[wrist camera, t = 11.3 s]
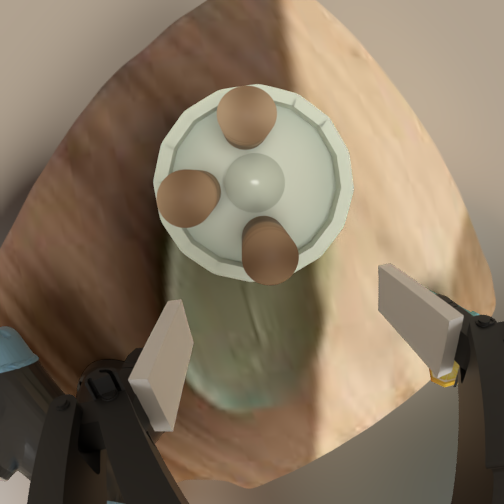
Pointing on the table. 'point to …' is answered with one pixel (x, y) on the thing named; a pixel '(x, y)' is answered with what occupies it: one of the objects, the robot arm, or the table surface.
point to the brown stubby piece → (268, 251)
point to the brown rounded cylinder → (188, 197)
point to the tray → (261, 181)
